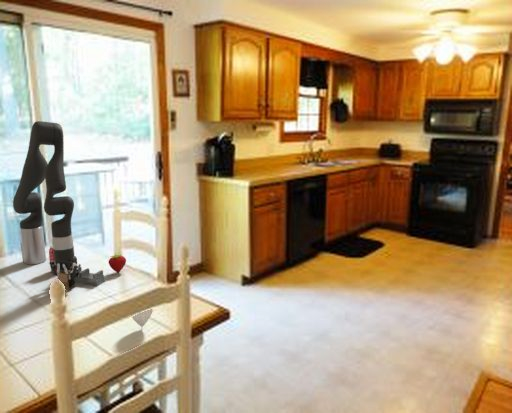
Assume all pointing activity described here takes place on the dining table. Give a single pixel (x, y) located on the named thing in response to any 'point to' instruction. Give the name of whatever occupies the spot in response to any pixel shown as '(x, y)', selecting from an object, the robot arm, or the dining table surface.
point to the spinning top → (142, 317)
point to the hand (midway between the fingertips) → (67, 286)
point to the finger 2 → (65, 279)
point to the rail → (90, 277)
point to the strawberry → (117, 262)
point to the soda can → (51, 255)
